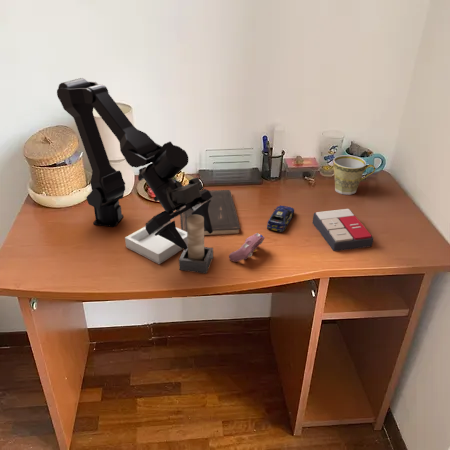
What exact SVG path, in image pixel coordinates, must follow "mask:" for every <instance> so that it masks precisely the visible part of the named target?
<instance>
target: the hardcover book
mask: <svg viewBox="0 0 450 450" xmlns="http://www.w3.org/2000/svg"><path fill="white" fill-rule="evenodd" d="M209 191H210V193H211V194H212V196H213V197H212V198H210V199H209V200H211V202H210V203H209V207H208V213H209V218H210V222H211V226H212V230H213V232H212V233H211V234H210V233H209V232H207V231H206V230H205V228H204V236H213V235H227V234H228V235H229V234H239V233H240V230H241V225H240V221H239V218H238V215H237V210H236V206H235V203H234V199H233V195H232V191H231V189H218V190H217V189H216V190H215V189H213V190H209ZM209 200H208V201H209ZM193 211H194V210H191V209H189V210H187V211H185V212H184V213H182V214H180V215H179V219H180V229H181V230H183V231H186V232H187V217H188V216H190V215H192V212H193Z"/></svg>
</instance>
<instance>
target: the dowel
mask: <svg viewBox="0 0 450 450" xmlns="http://www.w3.org/2000/svg"><path fill="white" fill-rule="evenodd" d="M187 239H188V259H191V260H199V261H204V260H205V259H204V247H205V235H204V217H203V216H201V215H197V214H194V215H190V216H188V217H187Z"/></svg>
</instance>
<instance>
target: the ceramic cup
mask: <svg viewBox="0 0 450 450" xmlns="http://www.w3.org/2000/svg"><path fill="white" fill-rule="evenodd" d="M332 161H333V163H332V164H333V168H332V169H333V174H334V191H335V192H336V193H338V194H339V195H346V196H348V195H349V196H351V195H353V194H355V193H357V190H358V187H359V185H360V182H361V181H363V180H365V178H367V177H368V176H370V175H372V174H374V173H375V172H376V167H375V165H374V164H371V163H369V164H367V161H366V160H365V159H363V158H362V157H359V156H357V155H349V154H343V155H337V156H335V157H334V158H333V160H332ZM369 168H373V170H372V171H371V172H370V173H368V174H366V175H364V176H363V174H364V172H365V171H366V170H367V169H369Z"/></svg>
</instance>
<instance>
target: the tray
mask: <svg viewBox="0 0 450 450" xmlns="http://www.w3.org/2000/svg"><path fill="white" fill-rule="evenodd" d="M176 229H177V231H178V232H179V234H180V235H181V237H182V238H183V240H184V242H185V243H186V245H188V239H187V232H186V231H183V230H181V228H179V227H176ZM156 233H157V231H156V232H155V233H153V234H151V235H149V234H148V232H147V231H146V226H143V227H142V228H140V229H138V230H136V231H134V232H133V233H130V234H129V235H128V236H125V237H124V241H125V247H126V248H127V249H128V250H131V251H133V252H134V253H137V254H138V255H140V256H142V257H144V258H145V259H148V260H150V261H152V262H153V263H156V264H158V265H161V264H162V263H164V262H166V261H167V260H168V259H170V258H171V257H173V256H175V255H176V254H177V253H179V252H180V251H182V250H183V249H182V248H181V247H179V246H177V245H176V244H174V243H173V242H171V241H169V240H167V239H165V238H163V237H161V236H159V235H157V236H155V234H156Z"/></svg>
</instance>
